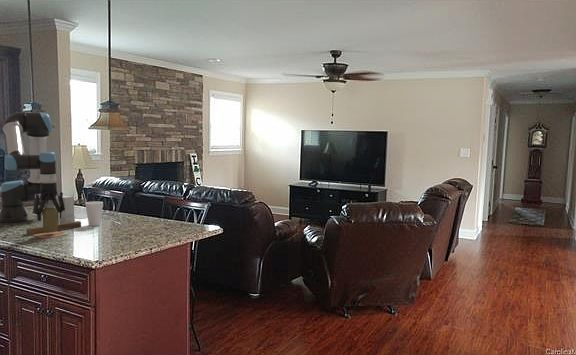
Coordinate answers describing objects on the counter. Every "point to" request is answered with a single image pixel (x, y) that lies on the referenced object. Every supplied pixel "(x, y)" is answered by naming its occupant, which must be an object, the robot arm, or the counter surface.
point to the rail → (41, 234)
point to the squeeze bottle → (49, 218)
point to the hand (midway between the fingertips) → (49, 225)
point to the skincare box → (67, 210)
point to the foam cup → (94, 212)
